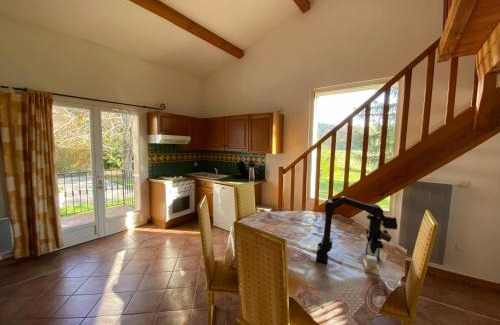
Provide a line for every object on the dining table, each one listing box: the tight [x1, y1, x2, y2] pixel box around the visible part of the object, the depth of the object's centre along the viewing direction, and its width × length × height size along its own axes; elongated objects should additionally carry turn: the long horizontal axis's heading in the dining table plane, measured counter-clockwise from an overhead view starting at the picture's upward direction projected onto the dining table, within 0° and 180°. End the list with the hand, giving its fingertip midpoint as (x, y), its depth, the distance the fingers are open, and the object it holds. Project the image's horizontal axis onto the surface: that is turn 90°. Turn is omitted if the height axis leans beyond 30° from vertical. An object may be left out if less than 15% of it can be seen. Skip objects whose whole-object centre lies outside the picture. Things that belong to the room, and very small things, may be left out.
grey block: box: [365, 254, 378, 268], centre depth 126 cm, size 5×5×4 cm
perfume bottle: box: [365, 241, 381, 259], centre depth 142 cm, size 6×6×12 cm
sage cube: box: [367, 244, 378, 256], centre depth 125 cm, size 4×4×4 cm
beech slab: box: [362, 259, 380, 275], centre depth 127 cm, size 7×7×4 cm
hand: (372, 251), depth 125 cm, fingers closed on sage cube, 4 cm apart
